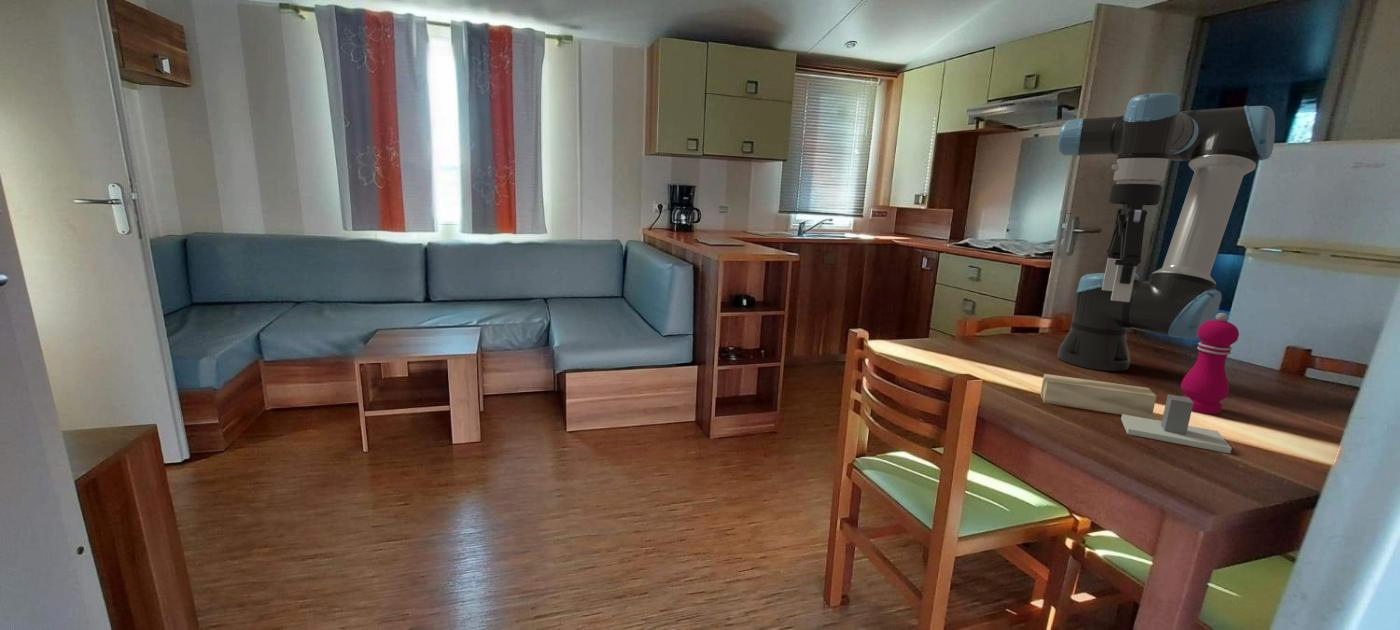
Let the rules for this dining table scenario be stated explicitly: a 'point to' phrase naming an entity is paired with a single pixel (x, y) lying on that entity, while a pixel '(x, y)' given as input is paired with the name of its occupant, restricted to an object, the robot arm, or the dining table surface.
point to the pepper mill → (1210, 366)
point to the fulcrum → (1176, 427)
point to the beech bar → (1098, 396)
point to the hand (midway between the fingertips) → (1114, 295)
